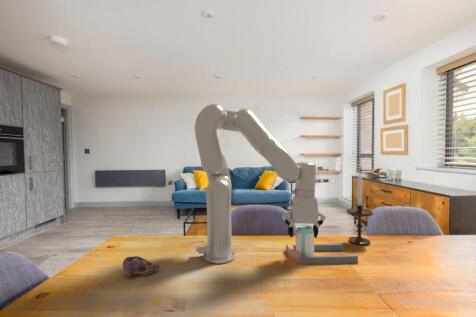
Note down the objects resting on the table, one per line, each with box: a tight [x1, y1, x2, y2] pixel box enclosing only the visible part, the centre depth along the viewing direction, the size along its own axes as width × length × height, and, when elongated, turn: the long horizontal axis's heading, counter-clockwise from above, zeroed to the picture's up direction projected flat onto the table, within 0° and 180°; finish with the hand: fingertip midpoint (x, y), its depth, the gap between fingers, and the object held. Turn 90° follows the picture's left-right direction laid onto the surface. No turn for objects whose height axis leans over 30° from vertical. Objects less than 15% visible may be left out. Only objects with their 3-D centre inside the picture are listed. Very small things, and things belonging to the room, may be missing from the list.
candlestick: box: [346, 166, 374, 247], centre depth 114 cm, size 11×11×35 cm
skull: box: [122, 255, 160, 276], centre depth 86 cm, size 12×8×6 cm, turn 95°
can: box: [295, 224, 315, 256], centre depth 98 cm, size 7×7×12 cm
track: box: [285, 242, 359, 266], centre depth 99 cm, size 24×13×3 cm, turn 93°
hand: (302, 236), depth 98 cm, fingers open, 9 cm apart
